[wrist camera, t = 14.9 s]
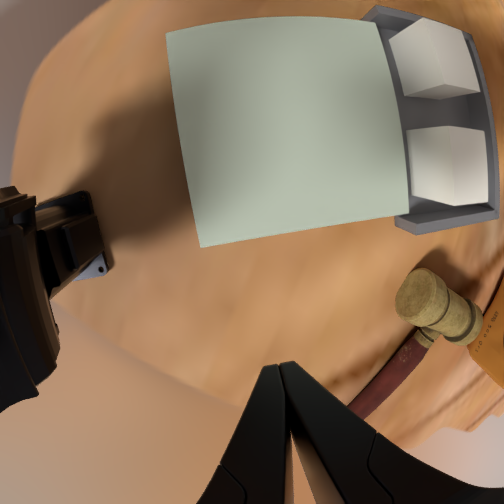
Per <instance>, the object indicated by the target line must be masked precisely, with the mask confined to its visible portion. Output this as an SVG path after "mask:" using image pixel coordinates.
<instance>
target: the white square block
mask: <svg viewBox="0 0 504 504" xmlns="http://www.w3.org/2000/svg"><path fill="white" fill-rule="evenodd" d="M406 135H407V143H408V152H409V162H410V175H411V193H412V195H413V196H417V197H421V198H426V199H430V200H434V201H437V202H441V203H445V204H449V205H452V206H457V205H466V204H475V203H484V202H488V169H487V154H486V143H485V134H484V131H481V130H475V129H469V128H462V127H455V126H440V127H430V128H421V129H413V130H406Z"/></svg>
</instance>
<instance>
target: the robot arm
mask: <svg viewBox="0 0 504 504" xmlns="http://www.w3.org/2000/svg"><path fill="white" fill-rule="evenodd" d="M82 195H84V196H85V200H83V199H82ZM35 205H36V196H27V194H20V193H19V192H18V190H17V189H16V188H15V186H10V187H4V188H0V413H1V412H2V411H4V410H5V409H6V408H8V407H9V406H11V405H13V404H15V403H17V402H20V401H22V400H25V399H29V398H33V397H37V396H38V395H39V392H38V390H37V388H36V386H38V385H39V384H40V383H42V382H43V381H44V380H45V379H47V378H48V377H49V376H50V375H51V374H52V372H53V371H54V370H55V369H56V367H57V364H56V359H57V356H58V353H59V350H60V342H59V337H58V335H59V329H58V326H57V324H56V323H55V320H54V316H53V312H52V309H51V305H50V301H49V300H51V299H52V298H53V297H54V296H55V295H56V294H57V293H59V292H60V291H61V290H62V289H63V288H64V287H66V286H67V285H68V284H69V283H70V282H72V281H77V280H83V279H88V278H94V277H99V276H104V275H105V274H107V272H108V271H109V267H108V264H107V260H106V257H105V253H104V245H103V241H102V237H101V233H100V229H99V226H98V221H97V217H96V216H95V215H94V211H93V207H92V202H91V197H90V194H89V192H88V191H86V190H83V191H79V192H76V193H74V194H71V195H68V196H65V197H62V198H59V199H57V200H54V201H51V202H49V203H46V204H44V205H41V206H38V207H36V208H35ZM100 266H101V267H103V269H104V271H102V270H101V268H100ZM290 430H291V431H290ZM376 432H377V431H376V430H375V429H374V428H373V427H371V426H370V425H369V424H368V423H366V422H365V421H364V420H363V419H361V418H360V417H359V416H358V415H357V414H355V413H354V412H353V411H352V410H351V409H349V408H348V407H347V406H346V405H345V404H343V403H342V402H341V401H340V400H339V399H337V398H336V397H335V396H334V395H333V394H332V393H330V392H329V391H328V390H327V389H326V388H325V387H323V386H322V385H321V384H320V383H319V382H318V381H316V380H315V379H314V378H313V377H312V376H311V375H310V374H308V373H307V372H306V371H305V370H304V369H303V368H302V367H301V366H299V365H298V364H297V363H296V362H295V361H289V362H283V363H280V364H279V365H278V364H273V365H267V366H264V367H263V368H262V370H261V372H260V374H259V377H258V379H257V381H256V384H255V386H254V388H253V391H252V393H251V395H250V398H249V400H248V402H247V405H246V407H245V409H244V411H243V414H242V416H241V418H240V420H239V423H238V425H237V427H236V429H235V431H234V434H233V435H232V438H231V440H230V442H229V444H228V446H227V448H226V450H225V453H224V454H223V457H222V459H221V461H220V465H218V466H217V469H216V470H215V473H214V474H213V477H212V478H211V480H210V482H209V484H208V485H207V487H206V489H205V491H204V492H203V494H202V496H201V497H200V499H199V500H198V502H197V503H196V504H294V493H293V461H292V440H291V435H292V438H293V441H294V444H295V447H296V450H297V453H298V455H299V458H300V461H301V464H302V466H303V469H304V472H305V475H306V477H307V480H308V483H309V485H310V488H311V491H312V493H313V496H314V499H315V501H316V504H504V488H484V487H478V486H474V485H471V484H468V483H465V482H463V481H460V480H458V479H456V478H454V477H452V476H449V475H448V474H445V473H443V472H441V471H439V470H437V469H435V468H433V467H431V466H430V465H427V464H426V463H424V462H422V461H420V460H418V459H416V458H415V457H413V456H411V455H410V454H408V453H406V452H405V451H403V450H402V449H401V448H399V447H398V446H396V445H395V444H393V443H392V442H391V441H389V440H388V439H387V438H385V437H384V436H383V435H382V434H380V433H379V432H378V433H376Z"/></svg>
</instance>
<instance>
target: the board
mask: <svg viewBox="0 0 504 504" xmlns="http://www.w3.org/2000/svg"><path fill="white" fill-rule="evenodd" d="M166 43H167V52H168V61H169V69H170V77H171V85H172V92H173V99H174V106H175V113H176V119H177V126H178V132H179V138H180V144H181V150H182V156H183V162H184V167H185V173H186V178H187V184H188V189H189V194H190V199H191V204H192V209H193V214H194V219H195V224H196V229H197V233H198V238H199V243H200V247H201V248H203V247H208V246H214V245H220V244H225V243H231V242H237V241H242V240H248V239H254V238H260V237H265V236H271V235H277V234H283V233H289V232H295V231H301V230H307V229H313V228H319V227H325V226H331V225H337V224H344V223H350V222H356V221H362V220H369V219H375V218H381V217H388V216H394V215H401V214H407V213H409V201H408V184H407V171H406V161H405V152H404V144H403V137H402V130H401V123H400V117H399V112H398V106H397V101H396V96H395V92H394V87H393V83H392V78H391V74H390V70H389V66H388V63H387V59H386V55H385V52H384V48H383V45H382V42H381V39H380V36H379V32H378V29H377V26H376V24H375V23H374V22H367V21H360V20H352V19H342V18H330V17H308V16H284V17H262V18H249V19H240V20H231V21H224V22H217V23H211V24H205V25H200V26H195V27H190V28H185V29H181V30H177V31H172V32H168V33H166Z"/></svg>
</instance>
